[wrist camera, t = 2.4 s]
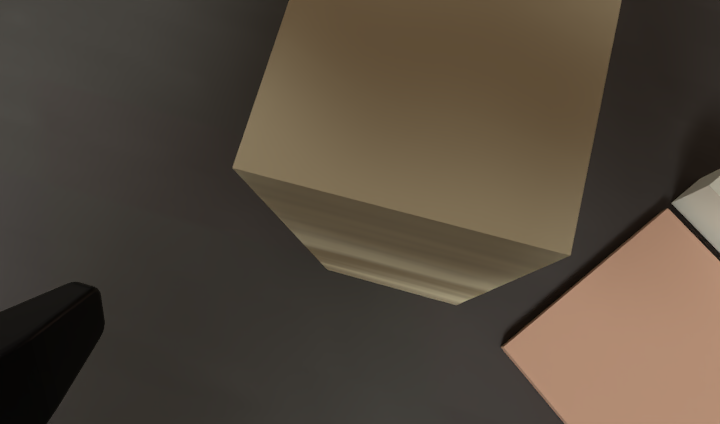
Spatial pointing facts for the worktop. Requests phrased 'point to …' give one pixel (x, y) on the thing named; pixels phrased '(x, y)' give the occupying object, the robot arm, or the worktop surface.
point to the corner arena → (637, 327)
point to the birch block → (430, 135)
